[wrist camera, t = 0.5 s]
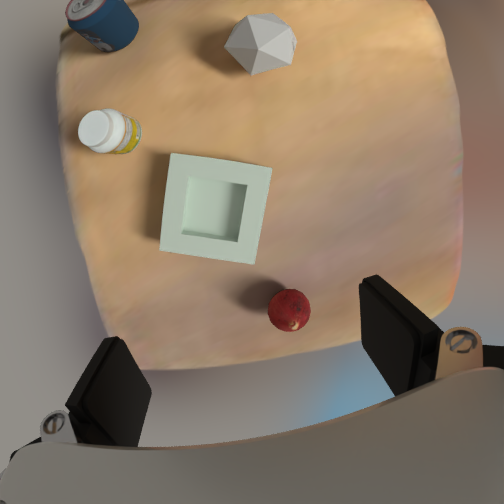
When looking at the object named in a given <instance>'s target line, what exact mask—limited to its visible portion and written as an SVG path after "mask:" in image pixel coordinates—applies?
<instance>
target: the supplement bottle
mask: <svg viewBox="0 0 504 504" xmlns="http://www.w3.org/2000/svg"><path fill="white" fill-rule="evenodd" d="M78 135H79V139H80V141H81V142H82V143H83V144H84V145H86V146H88V147H89V148H90V149H91V150H93V151H95V152H98V153H109V154H126V153H129V152H131V151H133V150H134V149H135V148H136V147H137V146H138V144H139V143H140V140H141V137H142V129H141V125H140V124H139V122H138V121H137V120H136V119H134V118H133V117H130V116H128V115H126V114H123V113H121V112H119V111H117V110H114V109H102V110H100V111H99V110H95V111H91V112H89V113H88V114H86V115H85V116H84V117H83V119H82V120H81V122H80V124H79V128H78Z"/></svg>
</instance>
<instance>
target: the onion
mask: <svg viewBox="0 0 504 504" xmlns="http://www.w3.org/2000/svg"><path fill="white" fill-rule="evenodd" d="M310 312H311V310H310V304H309V301H308V299H307V298H306V297H305V295H304V294H303V293H302V292H300V291H298V290H296V289H285V290H283V291H280V292H278V293H277V294H276V295H275V296H273V298H272V299H271V301H270V303H269V307H268V315H269V318H270V321H271V323H272V324H273V325H274V326H275V327H276V328H278V329H280V330H283V331H286V332H292V331H296V330H299V329H300V328H302V327H303V326H304V325H305V324H306V323H307V321H308V320H309V316H310Z"/></svg>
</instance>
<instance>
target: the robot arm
mask: <svg viewBox="0 0 504 504" xmlns="http://www.w3.org/2000/svg"><path fill="white" fill-rule="evenodd" d="M359 298H360V315H361V340H362V345H363V347H364V349H365V351H366V352H367V354H368V355H369V356H370V358H371V360H372V361H373V363H374V364H375V366H376V367H377V369H378V370H379V372H380V373H381V375H382V376H383V378H384V379H385V381H386V383H387V384H388V386H389V387H390V389H391V390H392V392H393V394H394V395H395V397H393V398H391V399H388V400H386V401H383V402H381V403H378V404H375V405H373V406H370V407H367V408H364V409H361V410H359V411H356V412H353V413H350V414H347V415H344V416H341V417H338V418H335V419H331V420H328V421H325V422H321V423H318V424H314V425H310V426H307V427H303V428H299V429H295V430H290V431H286V432H281V433H277V434H272V435H267V436H263V437H256V438H250V439H244V440H238V441H231V442H223V443H215V444H204V445H192V446H174V447H138V443H139V439H140V435H141V431H142V427H143V424H144V420H145V416H146V412H147V409H148V405H149V402H150V398H151V394H152V392H151V388H150V386H149V384H148V382H147V381H146V379H145V377H144V376H143V374H142V372H141V371H140V369H139V367H138V365H137V364H136V362H135V360H134V358H133V357H132V355H131V353H130V351H129V349H128V347H127V345H126V344H125V342H124V340H122V339H120V338H119V337H117V336H116V337H109V338H105V339H104V340H103V341H102V343H101V345H100V346H99V348H98V349H97V351H96V353H95V354H94V356H93V357H92V359H91V360H90V362H89V364H88V365H87V367H86V369H85V371H84V372H83V374H82V376H81V378H80V379H79V381H78V382H77V384H76V386H75V388H74V389H73V391H72V393H71V395H70V396H69V398H68V400H67V402H66V404H65V406H66V407H67V408H68V409H69V411H70V412H69V414H67V413H66V412H65V411H61V410H57V411H54V412H51V413H50V414H48V415H47V416H46V417H45V418H44V419H43V421H42V422H41V425H40V433H41V437H39V438H38V439H36V440H34V441H32V442H31V443H29V444H27V445H25V446H24V447H22V448H20V449H18V450H16V451H14V452H13V453H12V454H11V457H10V462H9V464H8V466H7V468H6V469H5V470H4V471H3V472H2V473H1V474H0V504H504V346H491V345H482V340H481V337H480V335H479V334H478V333H477V332H476V331H474V330H472V329H470V328H466V327H455V328H451V329H449V330H447V331H446V332H445V333H444V332H443V331H441V329H440V328H439V327H438V326H437V325H436V324H435V323H434V322H433V321H431V320H430V319H429V318H428V317H427V316H426V315H425V314H424V313H422V312H421V311H420V310H419V309H418V308H417V307H416V306H414V305H413V304H412V303H411V302H410V301H409V300H408V299H406V298H405V297H404V296H403V295H402V294H400V293H399V292H398V291H397V290H396V289H395V288H393V287H392V286H391V285H390V284H389V283H387V282H386V281H385V280H384V279H383V278H381V277H380V276H379V275H373V276H370V277H367V278H364V279H363V281H362V283H360V284H359Z"/></svg>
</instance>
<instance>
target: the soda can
mask: <svg viewBox="0 0 504 504" xmlns="http://www.w3.org/2000/svg"><path fill="white" fill-rule="evenodd" d="M65 14H66V17H67V19H68V24H69V26H70V27H71V28H72V29H74V30H75V31H76V32H78V33H79V34H80V35H82V36H83V37H84V38H85V39H87V40H88V41H89V42H91V43H92V44H93V45H95V46H96V47H97V48H98V49H100V50H101V51H104V52H113V51H117V50H120V49H122V48H124V47H126V46H127V45H129V44H130V43H131V42H132V41H133V39H134V38H135V36H136V34H137V32H138V28H139V23H138V20H137V18H136V17H135V15H134V14H133V13H132V11H131V10H130V8H129V7H128V6H127V4H126V3H125V1H124V0H71V1H70V2H69V4H68V5H67V8H66V12H65Z"/></svg>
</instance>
